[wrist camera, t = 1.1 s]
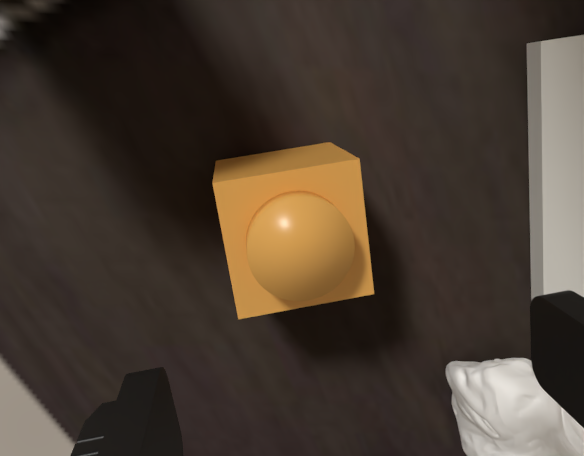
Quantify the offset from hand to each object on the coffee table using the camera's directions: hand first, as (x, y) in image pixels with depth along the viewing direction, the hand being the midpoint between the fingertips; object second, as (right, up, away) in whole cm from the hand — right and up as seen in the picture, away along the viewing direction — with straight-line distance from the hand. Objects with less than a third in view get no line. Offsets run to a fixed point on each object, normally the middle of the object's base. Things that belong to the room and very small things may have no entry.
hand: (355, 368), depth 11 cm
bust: (+11, -7, +20) cm, 24 cm away
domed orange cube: (-2, +4, +15) cm, 16 cm away
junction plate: (+18, +7, +17) cm, 25 cm away
